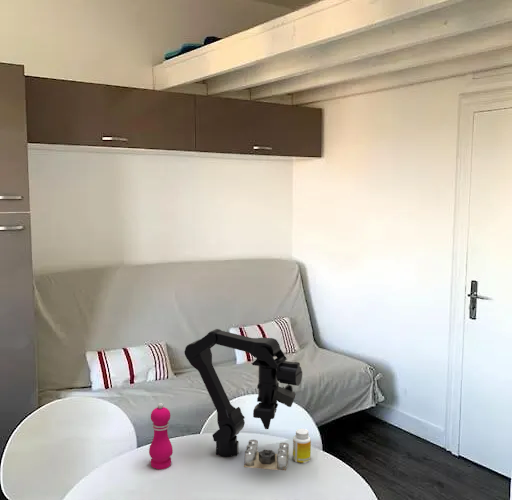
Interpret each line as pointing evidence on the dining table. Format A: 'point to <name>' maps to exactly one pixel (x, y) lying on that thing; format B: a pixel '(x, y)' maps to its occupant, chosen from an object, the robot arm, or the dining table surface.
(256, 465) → the board
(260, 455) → the nut
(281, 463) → the spacers
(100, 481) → the dining table surface
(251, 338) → the robot arm
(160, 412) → the pepper mill
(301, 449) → the supplement bottle
